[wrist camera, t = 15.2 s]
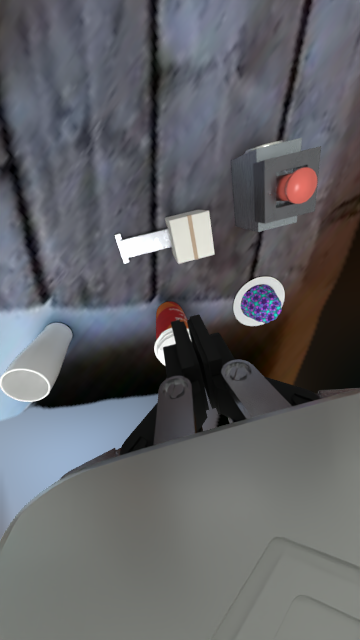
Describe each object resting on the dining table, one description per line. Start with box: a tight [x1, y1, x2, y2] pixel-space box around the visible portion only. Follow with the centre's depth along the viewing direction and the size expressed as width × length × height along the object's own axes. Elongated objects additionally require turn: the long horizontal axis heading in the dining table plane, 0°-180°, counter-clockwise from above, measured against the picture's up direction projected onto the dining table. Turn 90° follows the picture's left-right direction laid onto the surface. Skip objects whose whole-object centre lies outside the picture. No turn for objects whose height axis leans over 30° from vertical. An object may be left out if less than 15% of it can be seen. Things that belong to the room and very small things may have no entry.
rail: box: [115, 228, 172, 264], centre depth 38 cm, size 5×16×2 cm, turn 102°
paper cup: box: [154, 302, 191, 365], centre depth 40 cm, size 8×8×14 cm
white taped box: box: [165, 210, 215, 264], centre depth 36 cm, size 6×6×7 cm
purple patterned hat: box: [233, 277, 285, 326], centre depth 46 cm, size 12×12×5 cm
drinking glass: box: [0, 323, 72, 402], centre depth 38 cm, size 7×7×15 cm
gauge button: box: [276, 167, 317, 204], centre depth 27 cm, size 4×4×5 cm
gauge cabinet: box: [231, 138, 321, 232], centre depth 32 cm, size 10×7×12 cm
